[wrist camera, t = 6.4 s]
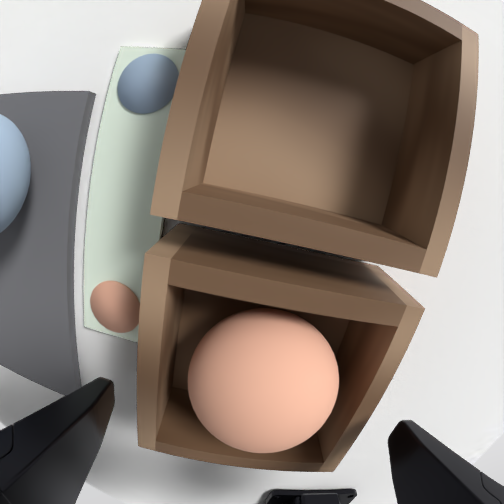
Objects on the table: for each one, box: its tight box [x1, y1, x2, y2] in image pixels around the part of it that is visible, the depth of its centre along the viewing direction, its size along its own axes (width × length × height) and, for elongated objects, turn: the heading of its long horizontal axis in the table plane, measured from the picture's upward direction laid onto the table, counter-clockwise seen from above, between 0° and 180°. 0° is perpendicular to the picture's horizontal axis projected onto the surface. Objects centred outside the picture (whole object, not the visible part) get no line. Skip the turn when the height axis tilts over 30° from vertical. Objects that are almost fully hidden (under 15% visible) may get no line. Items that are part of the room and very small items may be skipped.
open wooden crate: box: [150, 0, 479, 277], centre depth 8 cm, size 8×8×4 cm
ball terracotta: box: [188, 308, 339, 453], centre depth 10 cm, size 5×5×5 cm
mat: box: [0, 91, 96, 396], centre depth 11 cm, size 15×7×1 cm, turn 168°
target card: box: [83, 47, 186, 343], centre depth 11 cm, size 12×3×1 cm, turn 168°
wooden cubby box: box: [137, 223, 425, 472], centre depth 11 cm, size 8×8×4 cm
